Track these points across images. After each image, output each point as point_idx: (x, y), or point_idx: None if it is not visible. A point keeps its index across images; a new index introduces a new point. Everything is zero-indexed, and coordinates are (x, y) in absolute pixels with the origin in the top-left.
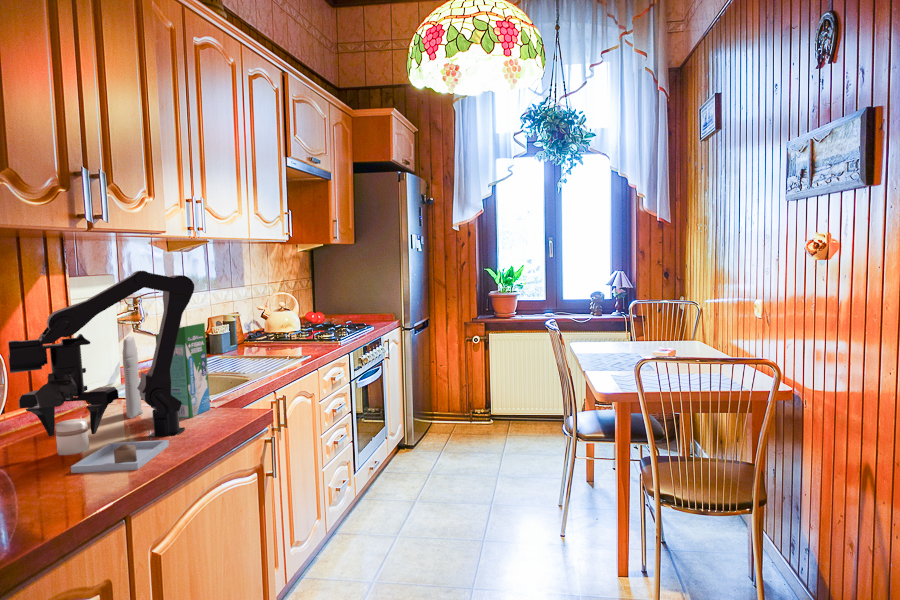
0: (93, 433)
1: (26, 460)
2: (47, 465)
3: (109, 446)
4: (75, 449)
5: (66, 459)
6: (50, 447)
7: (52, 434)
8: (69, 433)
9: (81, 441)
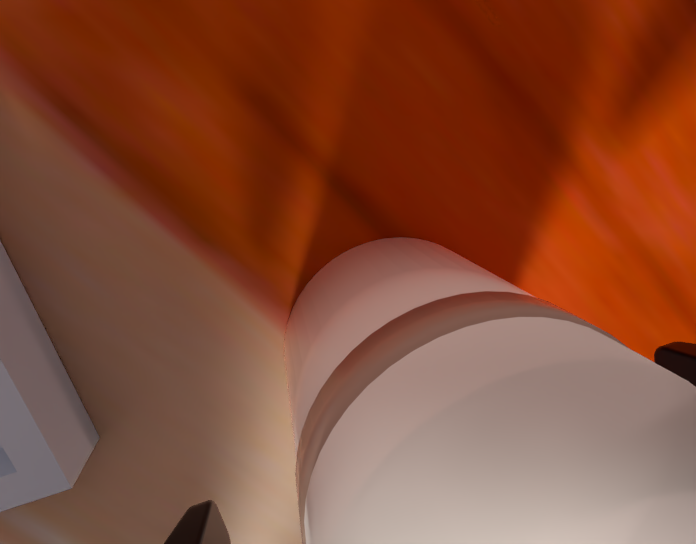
0: (188, 511)
1: (638, 135)
2: (360, 24)
3: (4, 427)
4: (312, 301)
5: (315, 194)
6: None
7: None
8: (385, 349)
9: (294, 385)
